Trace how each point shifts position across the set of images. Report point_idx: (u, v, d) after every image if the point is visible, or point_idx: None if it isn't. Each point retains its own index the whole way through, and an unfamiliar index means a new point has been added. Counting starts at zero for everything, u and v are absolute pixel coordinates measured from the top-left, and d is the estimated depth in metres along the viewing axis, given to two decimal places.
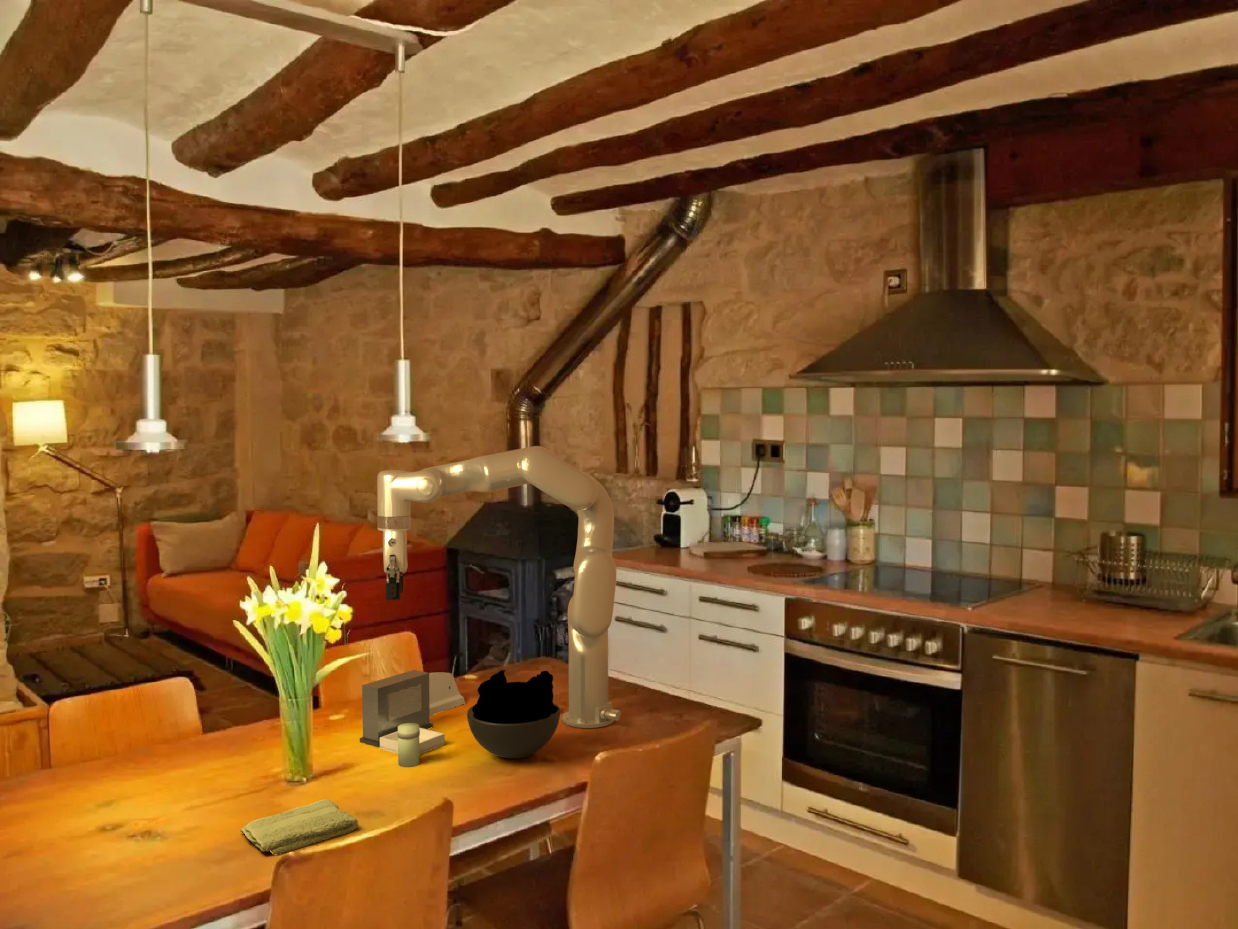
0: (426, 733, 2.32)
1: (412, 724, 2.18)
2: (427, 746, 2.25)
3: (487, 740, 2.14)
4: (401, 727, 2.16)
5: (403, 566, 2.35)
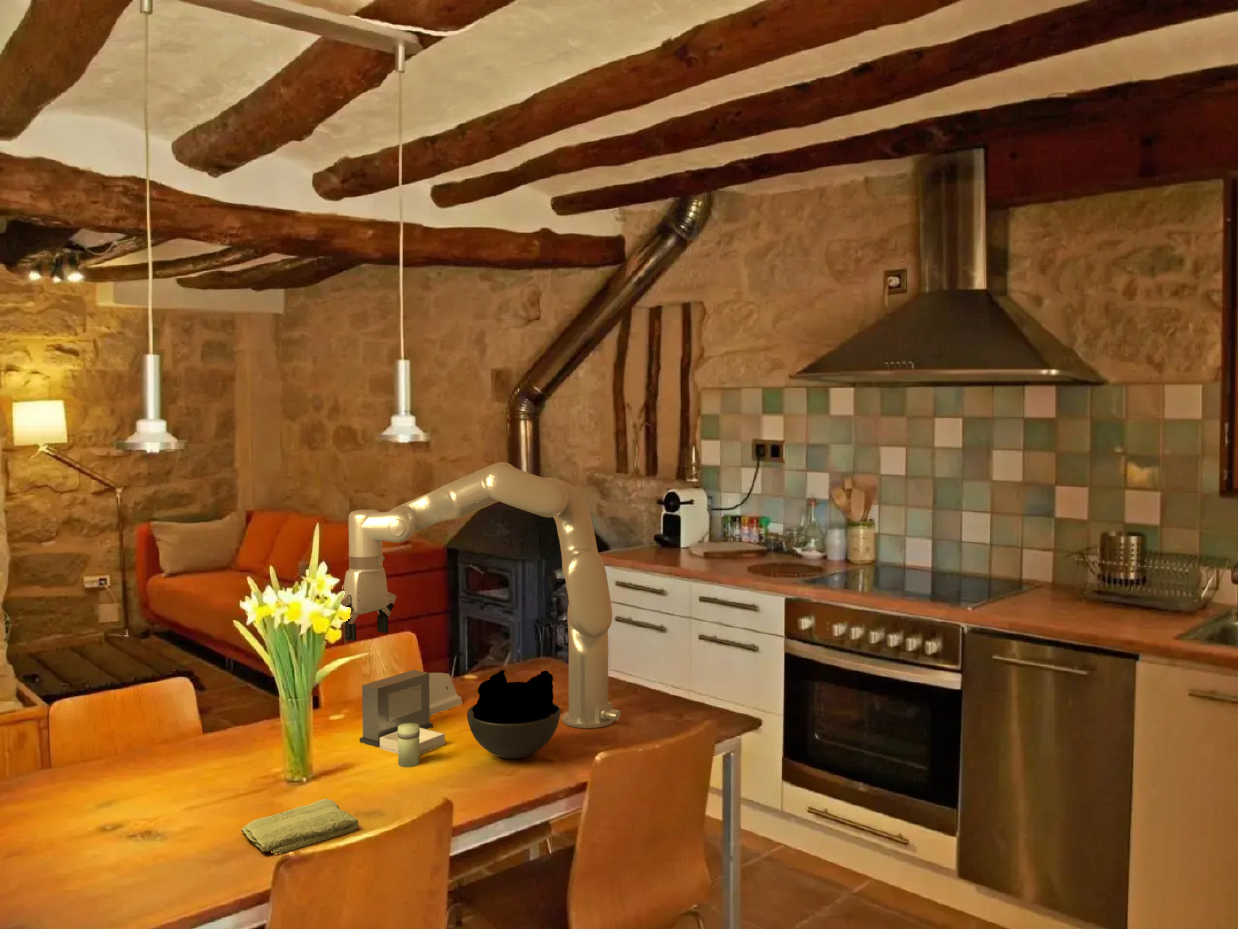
0: (426, 733, 2.32)
1: (412, 724, 2.18)
2: (427, 746, 2.25)
3: (487, 740, 2.14)
4: (401, 727, 2.16)
5: None
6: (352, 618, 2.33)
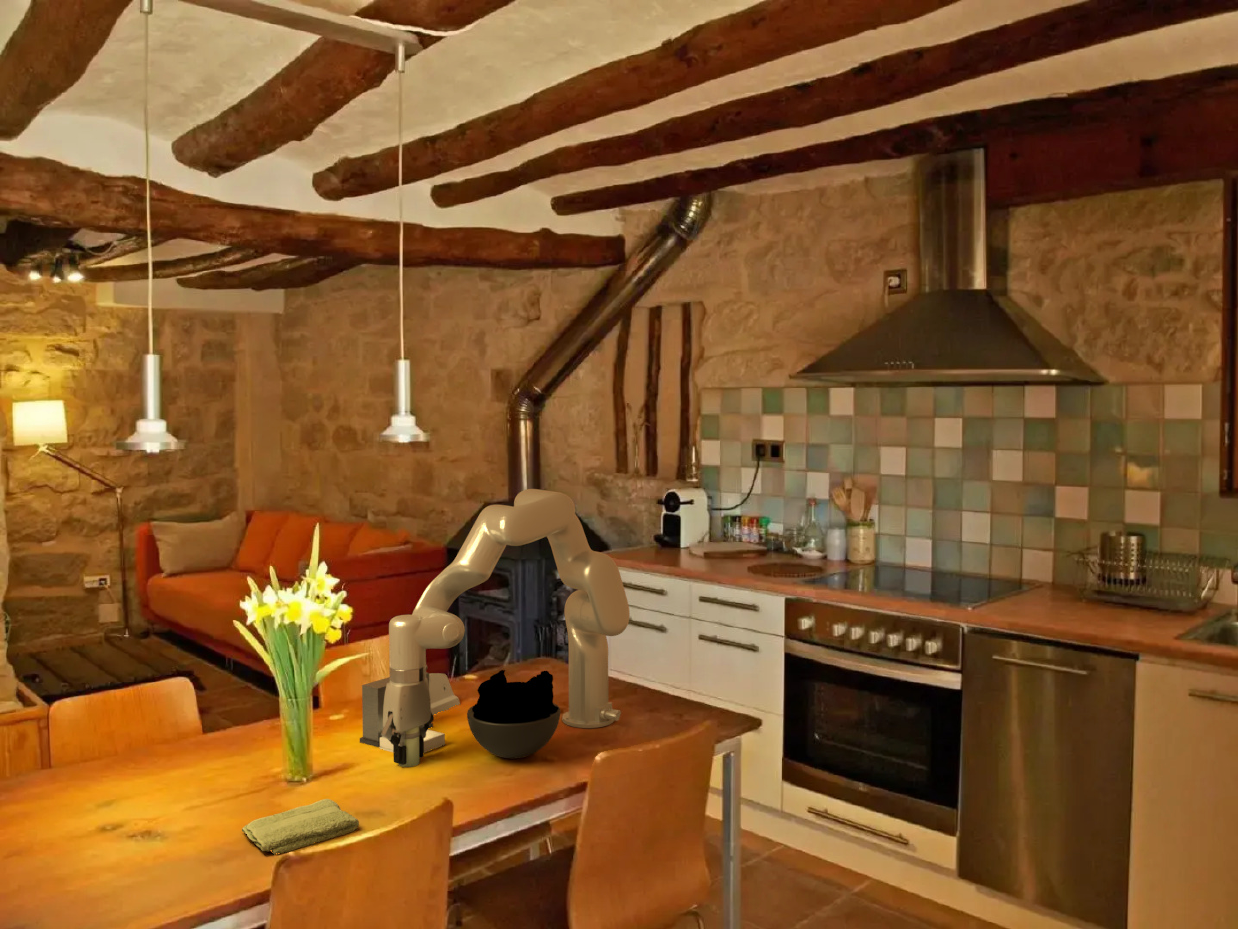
0: (426, 733, 2.32)
1: None
2: (427, 746, 2.25)
3: (487, 740, 2.14)
4: None
5: None
6: (401, 740, 2.13)
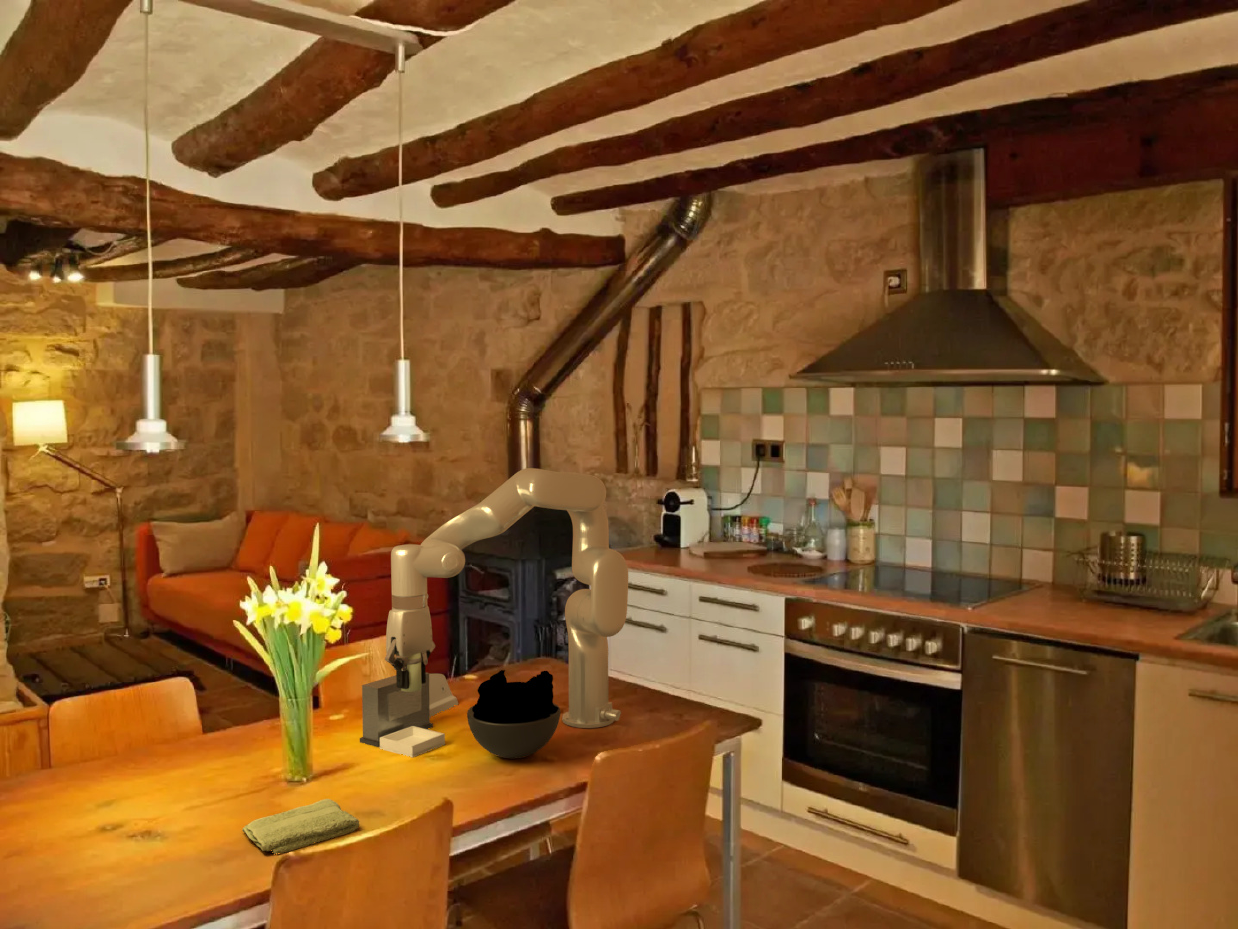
0: (426, 733, 2.32)
1: None
2: (427, 746, 2.25)
3: (487, 740, 2.14)
4: None
5: None
6: (404, 665, 2.20)
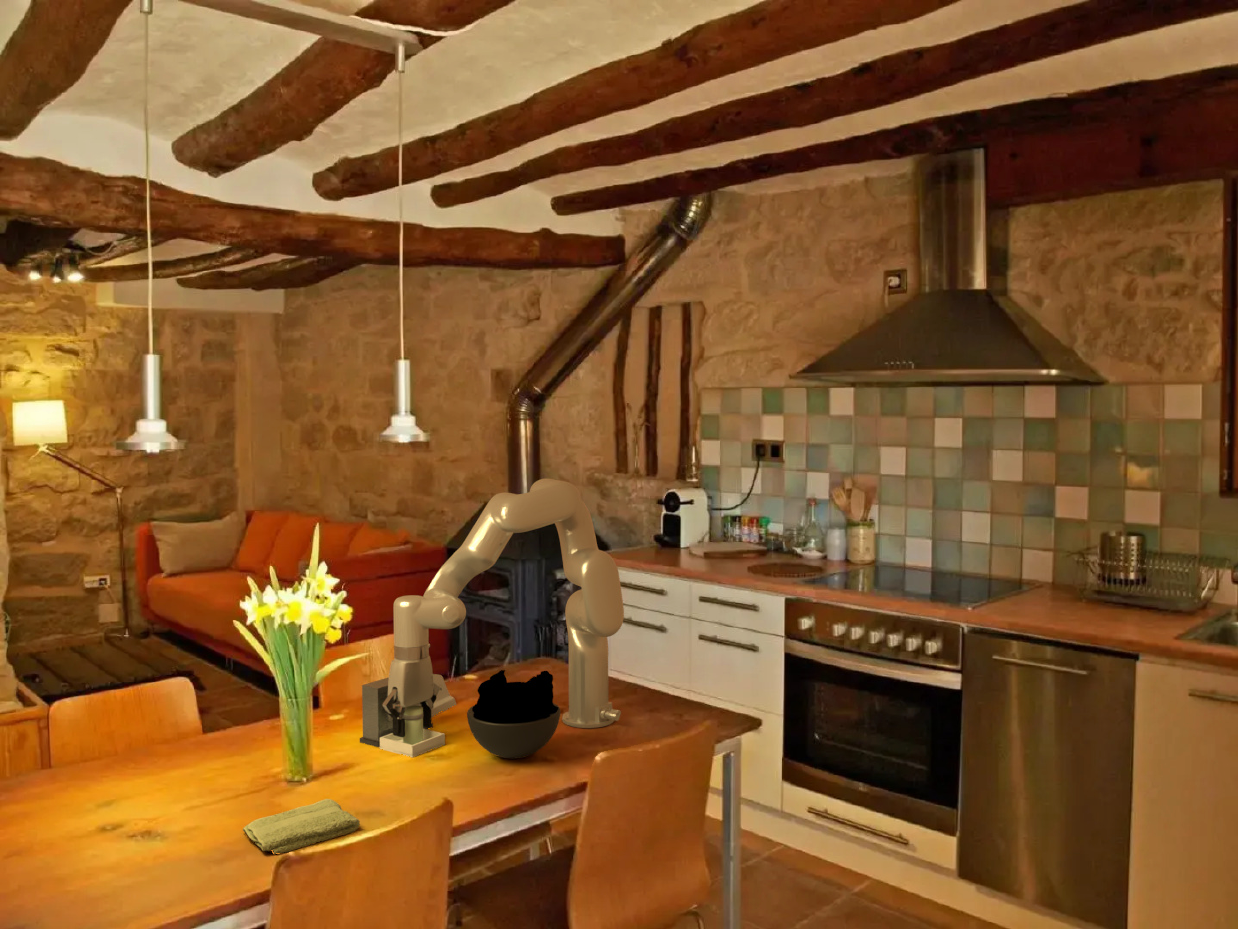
0: (426, 733, 2.32)
1: (416, 707, 2.29)
2: (427, 746, 2.25)
3: (487, 740, 2.14)
4: None
5: None
6: (400, 713, 2.23)
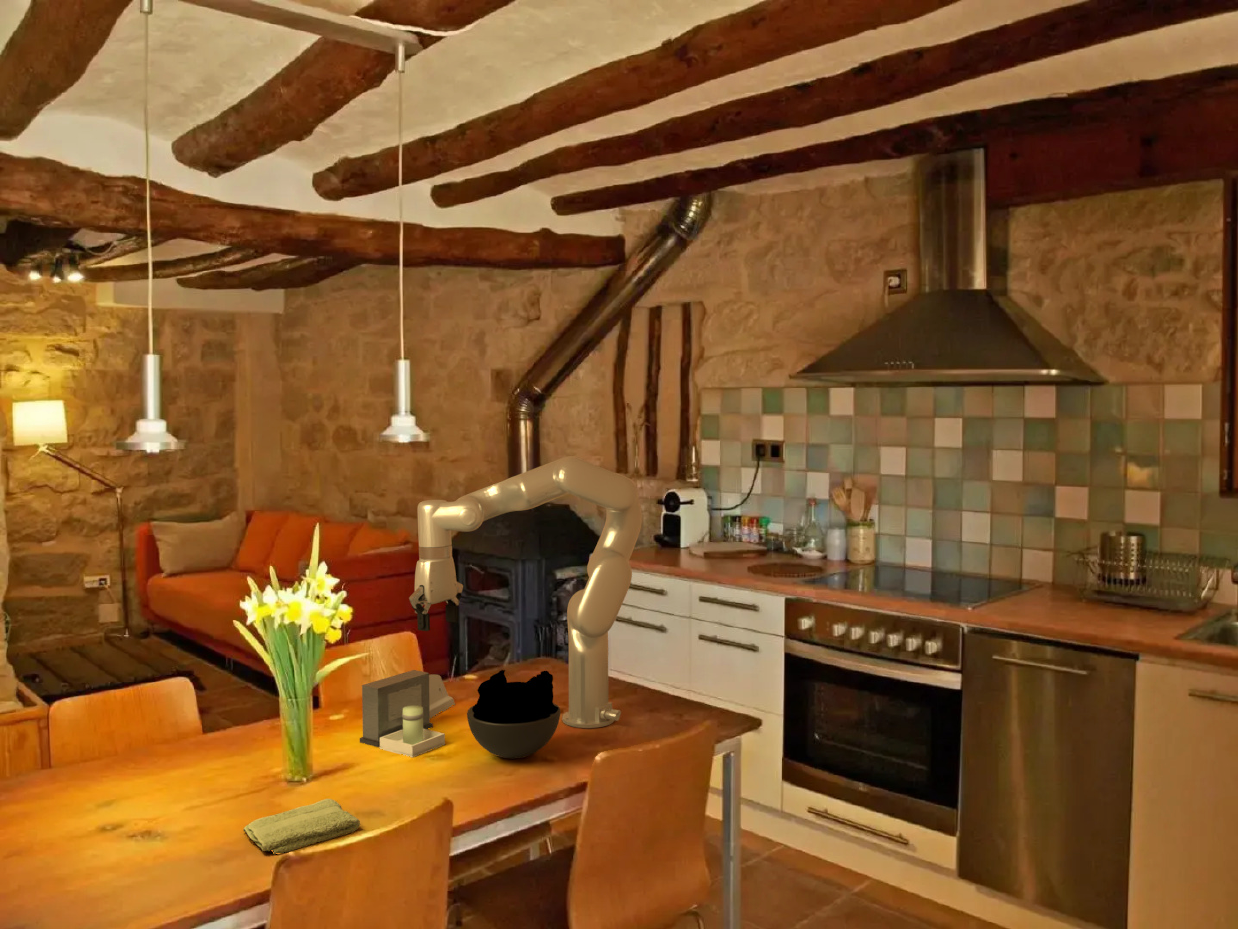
0: (426, 733, 2.32)
1: (416, 706, 2.29)
2: (427, 746, 2.25)
3: (487, 740, 2.14)
4: (405, 709, 2.27)
5: None
6: (426, 608, 2.34)
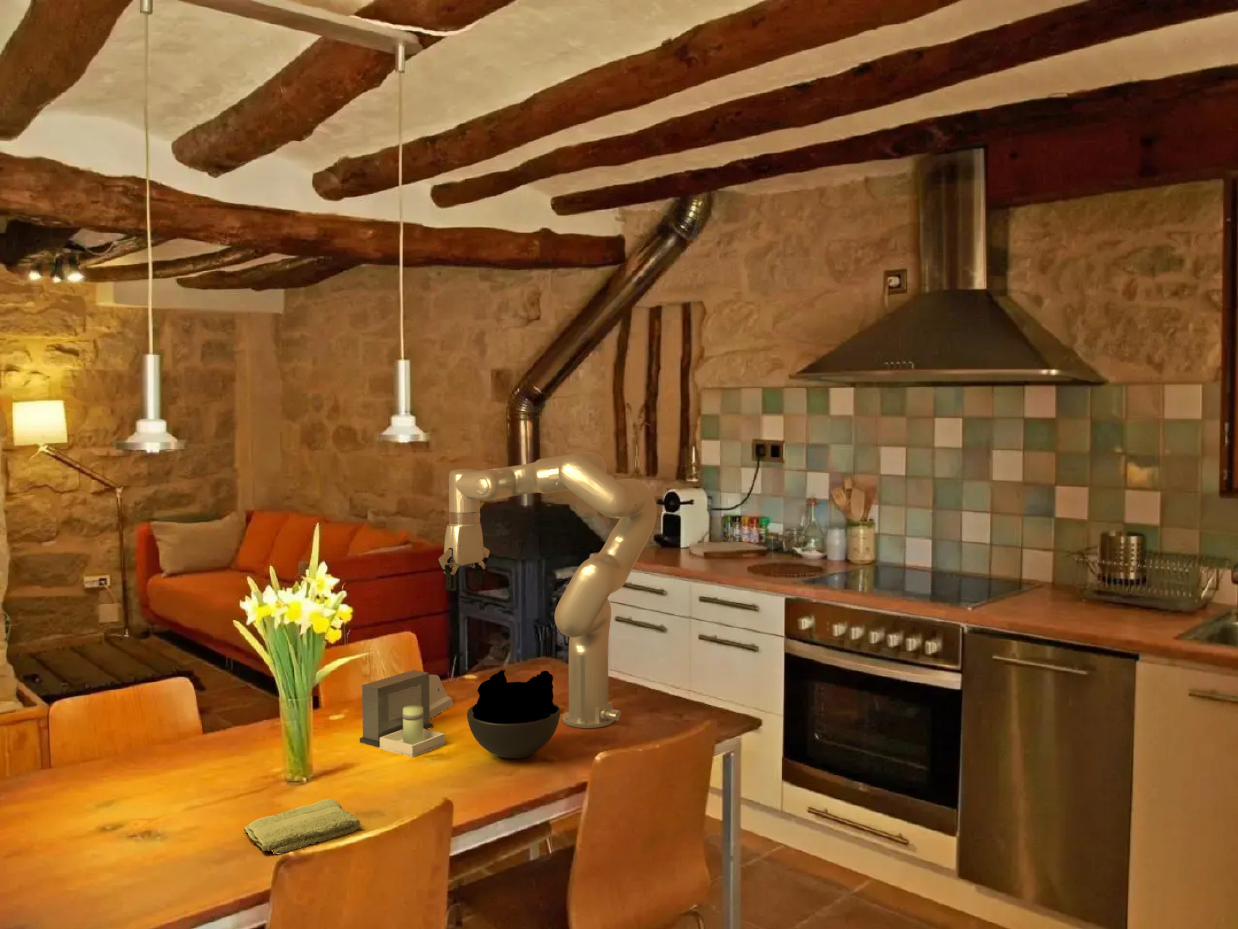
0: (426, 733, 2.32)
1: (416, 706, 2.29)
2: (427, 746, 2.25)
3: (487, 740, 2.14)
4: (406, 708, 2.27)
5: None
6: (454, 569, 2.50)
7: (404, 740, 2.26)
